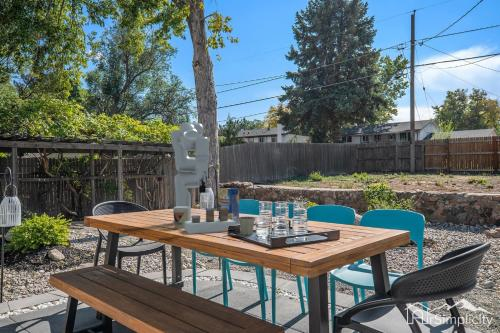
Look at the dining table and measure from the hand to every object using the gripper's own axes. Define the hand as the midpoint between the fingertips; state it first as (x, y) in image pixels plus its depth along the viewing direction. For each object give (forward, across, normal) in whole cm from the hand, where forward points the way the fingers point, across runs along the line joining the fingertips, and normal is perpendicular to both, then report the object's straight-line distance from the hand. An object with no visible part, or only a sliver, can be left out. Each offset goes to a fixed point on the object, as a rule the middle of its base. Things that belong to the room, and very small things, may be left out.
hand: (202, 192), depth 213 cm
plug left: (+20, 0, -4) cm, 21 cm away
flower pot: (+21, +19, +19) cm, 34 cm away
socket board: (+21, 0, +4) cm, 22 cm away
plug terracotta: (+17, 0, +12) cm, 21 cm away
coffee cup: (+21, -19, -8) cm, 30 cm away
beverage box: (+21, -21, +22) cm, 37 cm away
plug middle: (+17, 0, +4) cm, 17 cm away
